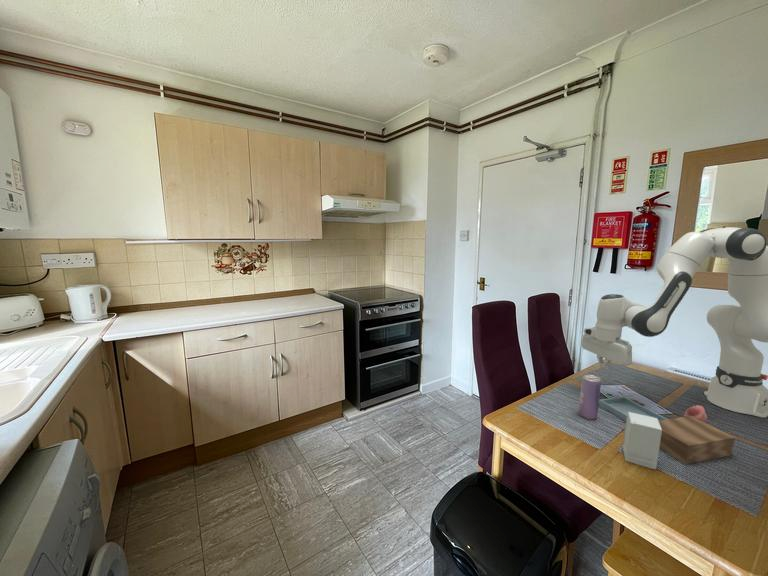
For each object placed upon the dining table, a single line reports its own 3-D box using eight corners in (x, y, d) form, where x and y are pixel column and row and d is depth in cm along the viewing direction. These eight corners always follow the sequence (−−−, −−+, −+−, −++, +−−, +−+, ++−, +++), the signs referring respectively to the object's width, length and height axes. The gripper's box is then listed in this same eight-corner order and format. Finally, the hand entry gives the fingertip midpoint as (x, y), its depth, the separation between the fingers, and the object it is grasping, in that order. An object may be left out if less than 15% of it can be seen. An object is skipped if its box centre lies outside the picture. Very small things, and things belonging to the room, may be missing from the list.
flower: (714, 408, 114) (698, 397, 115) (716, 426, 109) (700, 415, 110) (692, 415, 120) (677, 405, 121) (693, 432, 115) (678, 422, 116)
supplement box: (656, 470, 92) (662, 430, 90) (624, 461, 96) (629, 422, 94) (652, 455, 99) (658, 417, 97) (622, 447, 102) (627, 410, 100)
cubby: (687, 432, 110) (690, 415, 109) (731, 455, 99) (735, 437, 98) (645, 439, 106) (647, 422, 106) (685, 464, 95) (688, 445, 94)
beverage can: (600, 420, 117) (604, 382, 115) (581, 419, 118) (586, 380, 116) (592, 412, 123) (597, 375, 120) (575, 410, 124) (579, 373, 121)
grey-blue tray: (623, 402, 130) (624, 396, 129) (674, 429, 112) (675, 423, 111) (598, 405, 127) (599, 399, 127) (646, 434, 109) (647, 427, 109)
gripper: (639, 342, 120) (633, 377, 122) (593, 327, 139) (589, 357, 142) (625, 343, 118) (620, 379, 121) (580, 327, 138) (577, 358, 140)
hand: (603, 367), depth 131 cm, fingers closed
